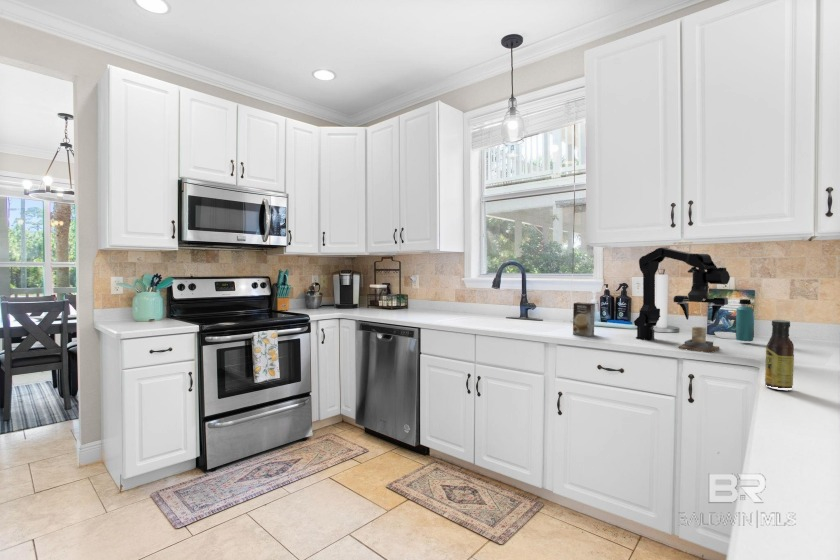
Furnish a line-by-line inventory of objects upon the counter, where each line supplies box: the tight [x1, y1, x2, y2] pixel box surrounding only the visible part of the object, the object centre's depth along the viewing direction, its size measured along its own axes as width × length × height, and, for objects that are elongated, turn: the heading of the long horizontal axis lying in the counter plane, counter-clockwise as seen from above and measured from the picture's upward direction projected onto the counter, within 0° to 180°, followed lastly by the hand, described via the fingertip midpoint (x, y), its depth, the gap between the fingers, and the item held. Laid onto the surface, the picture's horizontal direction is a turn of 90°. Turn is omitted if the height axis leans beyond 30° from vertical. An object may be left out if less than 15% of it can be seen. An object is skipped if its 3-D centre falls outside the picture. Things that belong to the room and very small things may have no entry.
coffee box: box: [572, 301, 596, 337], centre depth 222 cm, size 9×6×16 cm
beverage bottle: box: [735, 298, 755, 342], centre depth 197 cm, size 6×7×20 cm
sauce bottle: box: [764, 319, 795, 389], centre depth 125 cm, size 7×6×20 cm
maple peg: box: [691, 326, 707, 344], centre depth 185 cm, size 4×4×8 cm
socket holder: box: [677, 338, 720, 353], centre depth 185 cm, size 12×12×3 cm
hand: (699, 320), depth 185 cm, fingers open, 9 cm apart
